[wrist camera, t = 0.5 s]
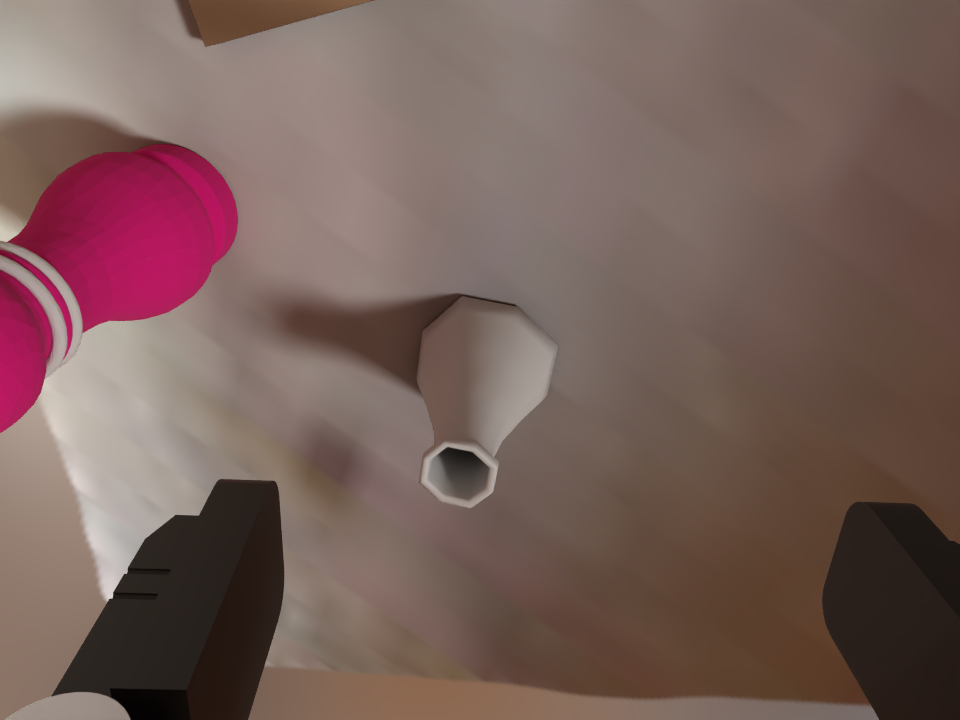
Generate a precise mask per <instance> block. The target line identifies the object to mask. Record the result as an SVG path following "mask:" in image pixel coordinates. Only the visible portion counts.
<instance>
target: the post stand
mask: <svg viewBox="0 0 960 720" xmlns="http://www.w3.org/2000/svg"><path fill="white" fill-rule="evenodd" d="M369 1H373V0H188V2H189V5H190V7H191V10H192V13H193V15H194V18H195V21H196V23H197V26H198V29H199V31H200V34H201V37H202V39H203V42H204V45H205V47H207V46H211V45H215V44H219V43H223V42H226V41H230V40H233V39H237V38H240V37H244V36H248V35H251V34H255V33H258V32H262V31H266V30H269V29H273V28H276V27H280V26H283V25H287V24H291V23H294V22H298V21H301V20H305V19H308V18H312V17H316V16H319V15H323V14H326V13H330V12H334V11H337V10H341V9H344V8H348V7H351V6H355V5H359V4H362V3H366V2H369Z"/></svg>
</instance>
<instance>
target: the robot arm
mask: <svg viewBox="0 0 960 720" xmlns="http://www.w3.org/2000/svg"><path fill="white" fill-rule="evenodd" d="M283 590H284V560H283V546H282V531H281V516H280V502H279V491H278V486H277V484H276V482H275V481H261V480H231V479H220V480H218V481H217V483H216V484H215V486H214V488H213V490H212V492H211V494H210V495H209V497H208V499H207V501H206V503H205V505H204V507H203V509H202V511H201V513H200V515H199V516H190V515H175V516H174V517H173V518H171V519H170V520H169V521H167V522H166V523H165V524H164V525H162V526H161V527H160V528H159V529H157V530H156V531H155V532H154V533H152V534H151V535H150V536H149V537H147V538H146V539H145V540H144V542H143V544H142V545H141V547H140V549H139V550H138V552H137V554H136V555H135V557H134V559H133V560H132V562H131V564H130V565H129V567H128V573H127V574H124V575H123V577H122V579H121V580H120V582H119V584H118V586H117V587H116V589H115V591H114V592H113V598H112V599H109V601H108V602H107V604H106V606H105V607H104V609H103V611H102V612H101V614H100V616H99V617H98V619H97V621H96V622H95V624H94V626H93V627H92V629H91V631H90V632H89V634H88V636H87V638H86V639H85V641H84V643H83V644H82V646H81V648H80V649H79V651H78V653H77V654H76V656H75V658H74V659H73V661H72V663H71V665H70V666H69V668H68V669H67V671H66V673H65V674H64V676H63V678H62V680H61V681H60V683H59V685H58V686H57V688H56V690H55V691H54V693H53V695H52V696H51V697H48V698H46V699H43V700H40V701H38V702H35V703H33V704H31V705H29V706H27V707H25V708H23V709H21V710H19V711H18V712H16V713H14V714H13V715H11V716H10V717H8V718H7V719H5V720H248V718H249V715H250V711H251V708H252V705H253V701H254V698H255V695H256V692H257V688H258V685H259V681H260V678H261V675H262V672H263V669H264V665H265V662H266V659H267V655H268V652H269V649H270V645H271V642H272V639H273V635H274V632H275V629H276V626H277V622H278V619H279V615H280V611H281V605H282V599H283ZM822 603H823V614H824V619H825V622H826V626H827V628H828V631H829V633H830V635H831V637H832V639H833V640H834V642H835V644H836V645H837V647H838V649H839V651H840V652H841V654H842V656H843V658H844V659H845V661H846V663H847V664H848V666H849V668H850V670H851V671H852V673H853V675H854V677H855V678H856V680H857V682H858V683H859V685H860V687H861V689H862V690H863V692H864V694H865V696H866V697H867V699H868V701H869V702H870V704H871V706H872V708H873V709H874V711H875V713H876V714H877V716H878V718H879V720H960V545H959V544H958V543H956V542H955V541H949V540H948V539H947V537H946V536H945V535H944V534H943V533H942V532H941V531H940V530H939V529H938V527H937V526H936V525H935V524H934V523H933V522H932V521H931V520H930V519H929V517H928V516H927V515H926V514H925V513H924V512H923V511H922V510H921V509H920V508H919V507H918V506H916V505H914V504H909V503H879V502H856V503H854V504H853V505H851V507H850V508H849V509H848V511H847V513H846V516H845V519H844V522H843V525H842V529H841V532H840V535H839V539H838V542H837V545H836V548H835V552H834V555H833V558H832V562H831V565H830V568H829V571H828V575H827V578H826V581H825V585H824V589H823V598H822Z"/></svg>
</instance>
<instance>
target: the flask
mask: <svg viewBox="0 0 960 720" xmlns="http://www.w3.org/2000/svg"><path fill="white" fill-rule="evenodd" d="M557 350H558V346H557V345H556V344H555V343H554V342H553V341H552V340H551V339H550V338H549V337H548V336H547V335H546V334H545V333H544V332H543V331H542V330H541V329H540V328H539V327H538V326H537V325H536V324H535V323H534V322H533V321H532V320H531V319H530V318H529V317H528V316H527V315H526V313H525V312H524V311H523V310H522V309H521V308H520V307H516V306H510V305H505V304H500V303H495V302H490V301H484V300H479V299H474V298H469V297H464V296H462V297H461V298H460V299H458V300H457V301H456V302H455V303H454V304H453V305H452V306H450V307H449V308H448V309H447V310H446V311H445V312H444V313H442V314H441V315H440V316H439V317H438V318H437V319H436V320H434V321H433V322H432V323H431V324H430V325H429V326H427V327H426V328H425V329H424V330H423V332H422V339H421V347H420V354H419V362H418V369H417V377H416V380H417V383H418V386H419V389H420V391H421V394H422V396H423V399H424V401H425V404H426V406H427V410H428V413H429V416H430V420H431V423H432V426H433V429H434V445H433V446H432V447H431V448H429V449H428V450H427V451H426V452H425V453H424V454H423V457H422V464H421V471H420V478H419V483H420V484H421V485H422V486H423V487H424V488H425V489H427V490H428V491H429V492H430V493H431V494H432V495H433V496H434V497H436V498H437V499H438V500H439V501H440V502H443V503H448V504H453V505H458V506H463V507H468V508H472V507H473V506H474V505H476V504H477V503H479V502H480V501H481V500H483V499H484V498H486V497H487V496H488V495H490V494H491V493H493V490H494V485H495V480H496V475H497V470H498V465H499V463H498V461H497V460H496V459H495V458H494V456H495V454H496V452H497V450H498V449H499V447H500V445H501V443H502V441H503V440H504V439H505V437H506V436H507V435H508V434H509V433H510V432H511V431H512V430H513V429H514V428H515V427H516V426H517V425H518V423H519V422H520V421H521V420H522V419H523V418H524V417H525V416H526V415H527V414H528V413H529V412H531V411H532V410H533V409H534V408H535V407H536V406H537V405H538V404H539V403H540V402H541V401H542V400H543V399H544V398H545V397H546V396H547V394H548V389H549V385H550V381H551V376H552V372H553V368H554V363H555V359H556V354H557Z"/></svg>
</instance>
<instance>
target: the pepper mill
mask: <svg viewBox="0 0 960 720" xmlns="http://www.w3.org/2000/svg"><path fill="white" fill-rule="evenodd" d="M237 224H238V216H237V209H236V204H235V200H234V197H233V195H232V192H231V190H230V188H229V186H228V185H227V183H226V181H225V180H224V178H223V177H222V175H221V174H220V173H219V172H218V171H217V170H216V169H215V168H214V167H213V166H212V165H211V164H210V163H209V162H208V161H207V160H205V159H204V158H202V157H201V156H199V155H198V154H196V153H194V152H192V151H190V150H188V149H185V148H182V147H179V146H174V145H168V144H155V145H150V146H146V147H143V148H140V149H138V150H136V151H134V152H131V153H127V152H107V153H102V154H97V155H93V156H91V157H89V158H86V159H84V160H82V161H80V162H78V163H77V164H75V165H73V166H72V167H70V168H68V169H67V170H66V171H64V172H63V173H61V174H60V175H59V176H58V177H57V178H56V179H55V180H54V181H53V182H52V183H51V184H50V186H49V187H48V188H47V189H46V190H45V191H44V193H43V194H42V196H41V197H40V199H39V201H38V203H37V205H36V207H35V209H34V211H33V213H32V216H31V218H30V220H29V222H28V223H27V225H26V226H25V228H24V229H23V230H22V231H21V232H20V233H19V234H18V235H17V236H15V237H14V238H12V239H11V240H9V241H8V242H3V241H0V433H1V432H3V431H4V430H6V429H7V428H8V427H10V426H11V425H13V424H14V423H15V422H17V421H18V420H19V419H20V418H21V417H22V416H23V415H24V414H25V413H26V412H27V411H28V410H29V409H30V408H31V407H32V406H33V405H34V403H35V401H36V400H37V398H38V396H39V395H40V393H41V390H42V386H43V382H44V379H45V378H47V377H48V376H50V375H52V374H53V373H54V371H55V370H56V369H57V368H59V367H61V366H62V365H64V364H66V363H67V362H68V361H69V360H70V359H71V358H72V357H73V356H74V354H75V353H76V352H77V349H78V347H79V345H80V342H81V339H82V333H84V332H85V331H87V330H89V329H91V328H92V327H94V326H96V325H98V324H101V323H104V322H107V321H130V320H140V319H146V318H150V317H154V316H158V315H161V314H164V313H167V312H169V311H171V310H172V309H174V308H176V307H178V306H179V305H181V304H182V303H184V302H185V301H187V300H188V299H190V298H191V297H192V296H194V295H195V294H196V293H197V291H198V290H199V289H200V288H201V287H202V286H203V284H204V283H205V281H206V280H207V278H208V276H209V274H210V272H211V268H212V265H214V264H215V263H216V262H217V261H218V260H220V259H221V258H222V257H223V256H224V255H225V254H226V253H227V251H228V250H229V249H230V248H231V246H232V244H233V241H234V239H235V236H236V232H237Z"/></svg>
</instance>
